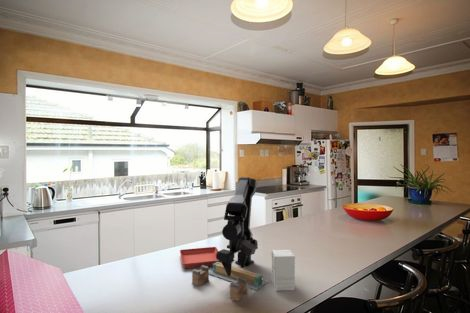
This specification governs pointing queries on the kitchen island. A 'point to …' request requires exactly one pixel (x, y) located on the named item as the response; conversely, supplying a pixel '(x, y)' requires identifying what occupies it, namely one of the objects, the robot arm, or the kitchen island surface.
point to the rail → (239, 274)
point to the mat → (236, 280)
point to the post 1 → (200, 275)
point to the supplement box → (283, 270)
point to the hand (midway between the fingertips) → (236, 271)
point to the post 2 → (238, 289)
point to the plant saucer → (199, 257)
